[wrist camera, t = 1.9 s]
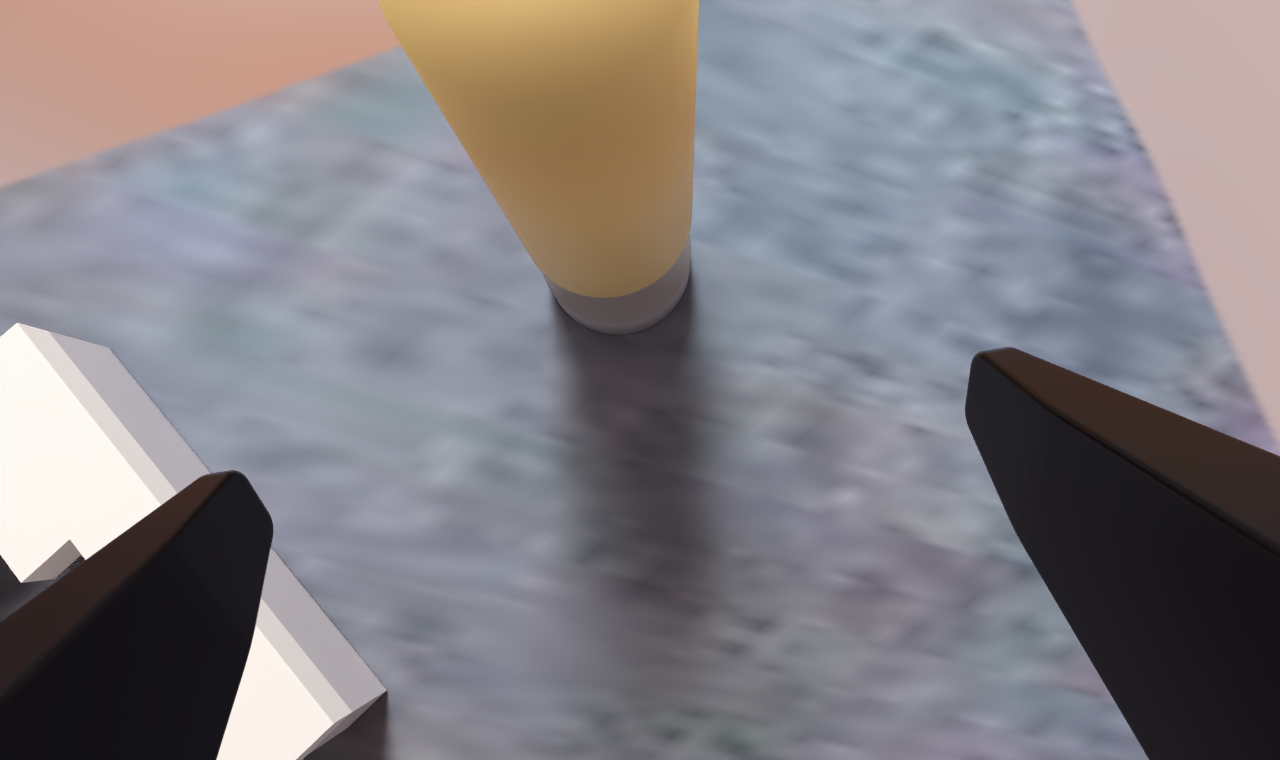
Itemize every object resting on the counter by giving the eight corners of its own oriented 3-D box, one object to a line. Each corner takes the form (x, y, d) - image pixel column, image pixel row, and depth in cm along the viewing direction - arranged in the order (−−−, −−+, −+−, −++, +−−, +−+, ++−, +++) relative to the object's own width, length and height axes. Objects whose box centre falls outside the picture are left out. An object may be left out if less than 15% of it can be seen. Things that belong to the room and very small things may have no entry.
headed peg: (716, 241, 22) (762, -112, 10) (642, 360, 22) (586, 156, 9) (596, 175, 23) (488, -241, 10) (522, 289, 22) (309, 5, 10)
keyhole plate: (386, 690, 21) (333, 723, 17) (86, 978, 20) (-27, 1068, 17) (108, 347, 23) (17, 322, 20) (-172, 593, 22) (-314, 608, 19)
